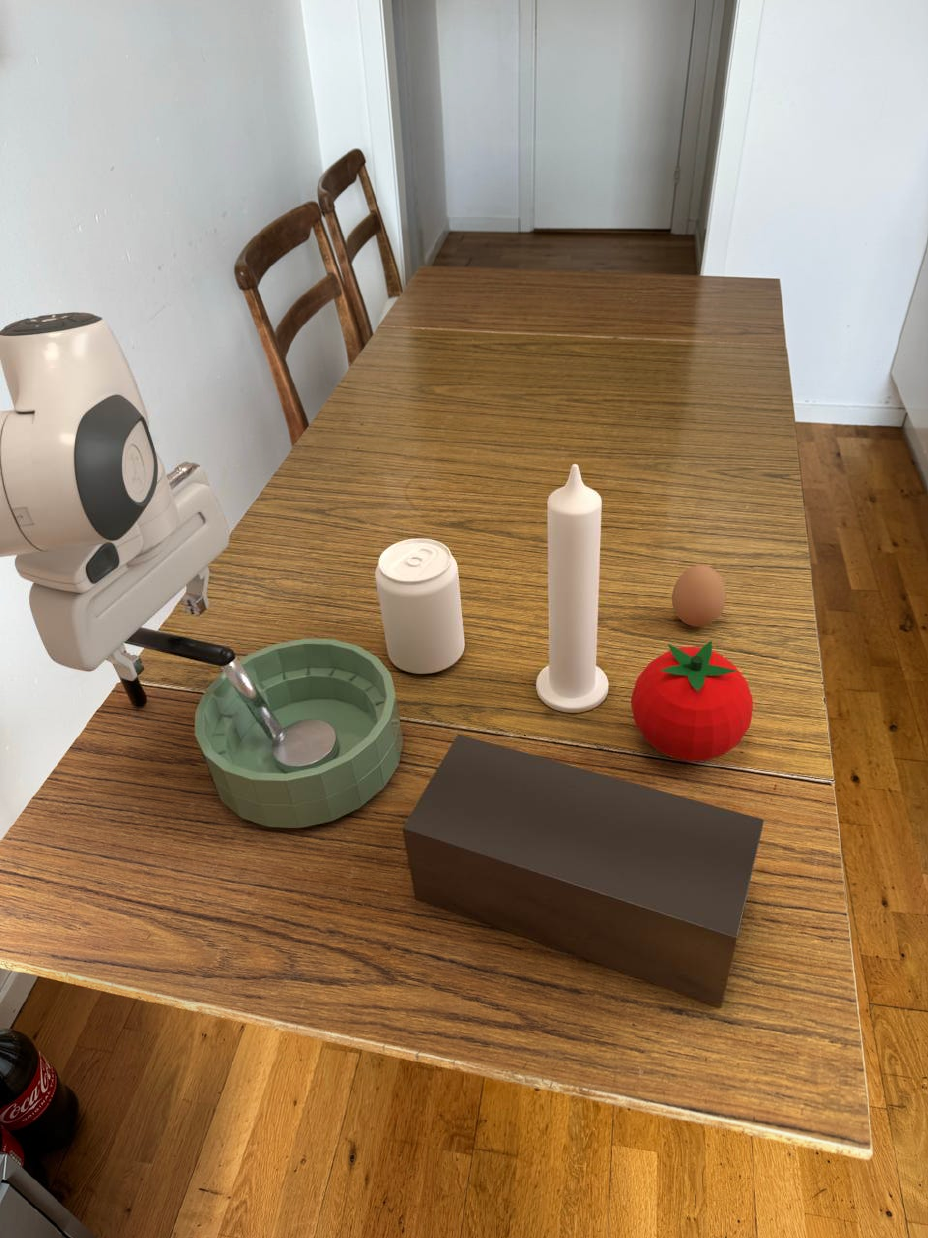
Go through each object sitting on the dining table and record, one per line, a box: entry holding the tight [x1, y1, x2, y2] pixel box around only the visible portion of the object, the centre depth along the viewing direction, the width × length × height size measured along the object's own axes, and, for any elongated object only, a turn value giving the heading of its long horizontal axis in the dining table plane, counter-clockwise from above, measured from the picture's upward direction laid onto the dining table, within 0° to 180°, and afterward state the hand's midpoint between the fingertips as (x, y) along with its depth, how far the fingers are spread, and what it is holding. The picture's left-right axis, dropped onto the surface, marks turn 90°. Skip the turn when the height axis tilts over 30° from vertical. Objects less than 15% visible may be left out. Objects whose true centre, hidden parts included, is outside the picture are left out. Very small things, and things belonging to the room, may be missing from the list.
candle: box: [535, 463, 610, 714], centre depth 80 cm, size 7×7×25 cm
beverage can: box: [374, 537, 466, 675], centre depth 90 cm, size 8×8×12 cm
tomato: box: [630, 640, 754, 762], centre depth 78 cm, size 10×10×10 cm
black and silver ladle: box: [111, 626, 339, 773], centre depth 83 cm, size 24×6×11 cm, turn 66°
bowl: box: [194, 638, 404, 829], centre depth 81 cm, size 18×18×7 cm
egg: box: [671, 564, 727, 628], centre depth 92 cm, size 5×5×7 cm
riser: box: [401, 733, 765, 1009], centre depth 67 cm, size 10×24×9 cm, turn 66°
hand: (166, 641), depth 81 cm, fingers open, 8 cm apart
